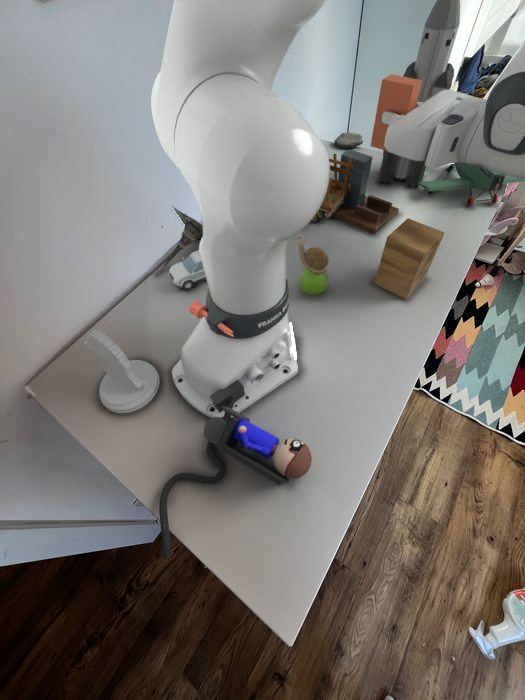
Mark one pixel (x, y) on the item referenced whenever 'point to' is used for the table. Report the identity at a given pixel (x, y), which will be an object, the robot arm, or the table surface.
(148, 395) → the white curved piece
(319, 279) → the snail figurine
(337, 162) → the toy truck
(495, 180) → the toy airplane
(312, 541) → the table surface
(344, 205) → the pad mount
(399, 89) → the back pad
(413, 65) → the toy rocket
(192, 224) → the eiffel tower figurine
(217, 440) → the character figurine
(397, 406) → the table surface
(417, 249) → the block
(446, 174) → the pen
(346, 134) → the stone
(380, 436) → the table surface
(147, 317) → the table surface
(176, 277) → the toy car
